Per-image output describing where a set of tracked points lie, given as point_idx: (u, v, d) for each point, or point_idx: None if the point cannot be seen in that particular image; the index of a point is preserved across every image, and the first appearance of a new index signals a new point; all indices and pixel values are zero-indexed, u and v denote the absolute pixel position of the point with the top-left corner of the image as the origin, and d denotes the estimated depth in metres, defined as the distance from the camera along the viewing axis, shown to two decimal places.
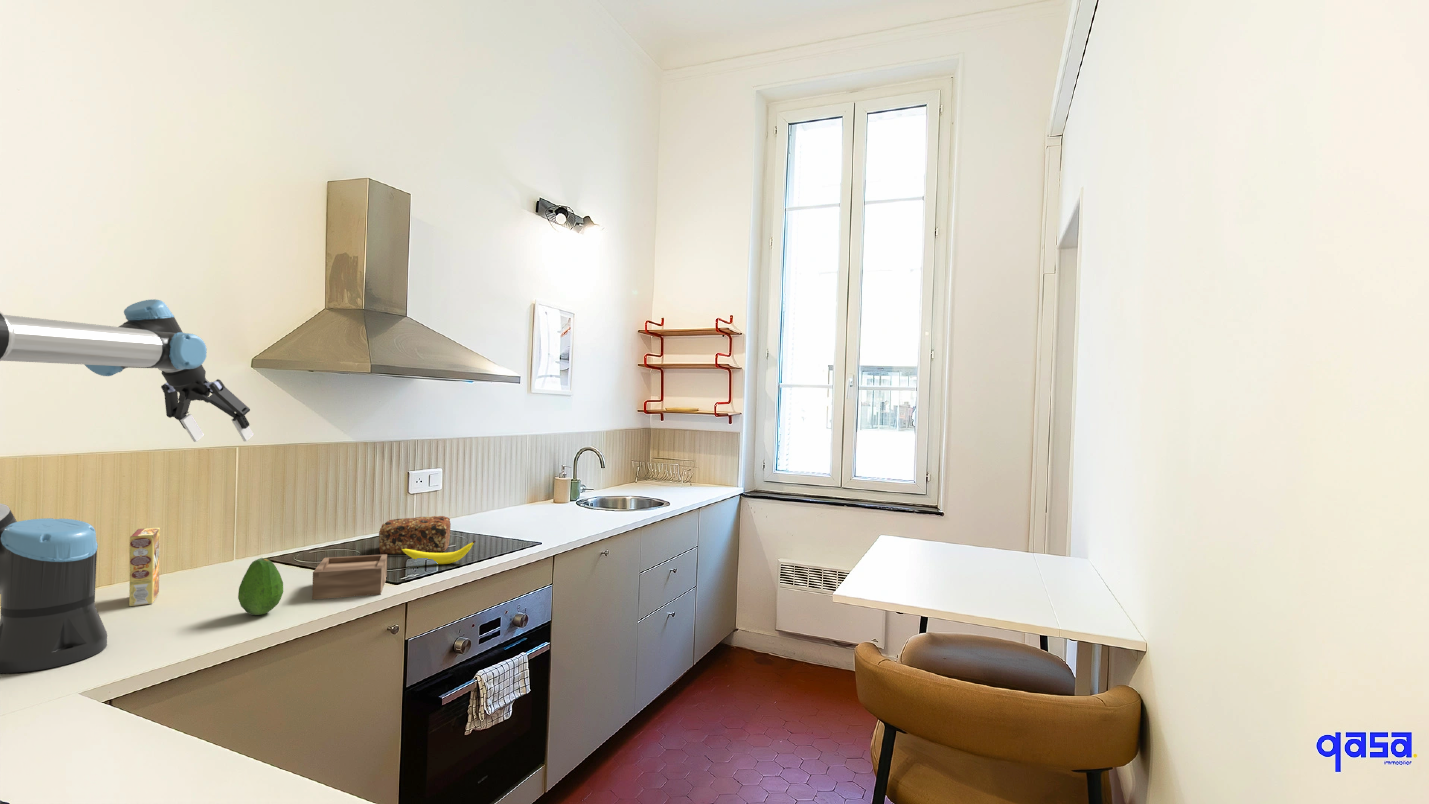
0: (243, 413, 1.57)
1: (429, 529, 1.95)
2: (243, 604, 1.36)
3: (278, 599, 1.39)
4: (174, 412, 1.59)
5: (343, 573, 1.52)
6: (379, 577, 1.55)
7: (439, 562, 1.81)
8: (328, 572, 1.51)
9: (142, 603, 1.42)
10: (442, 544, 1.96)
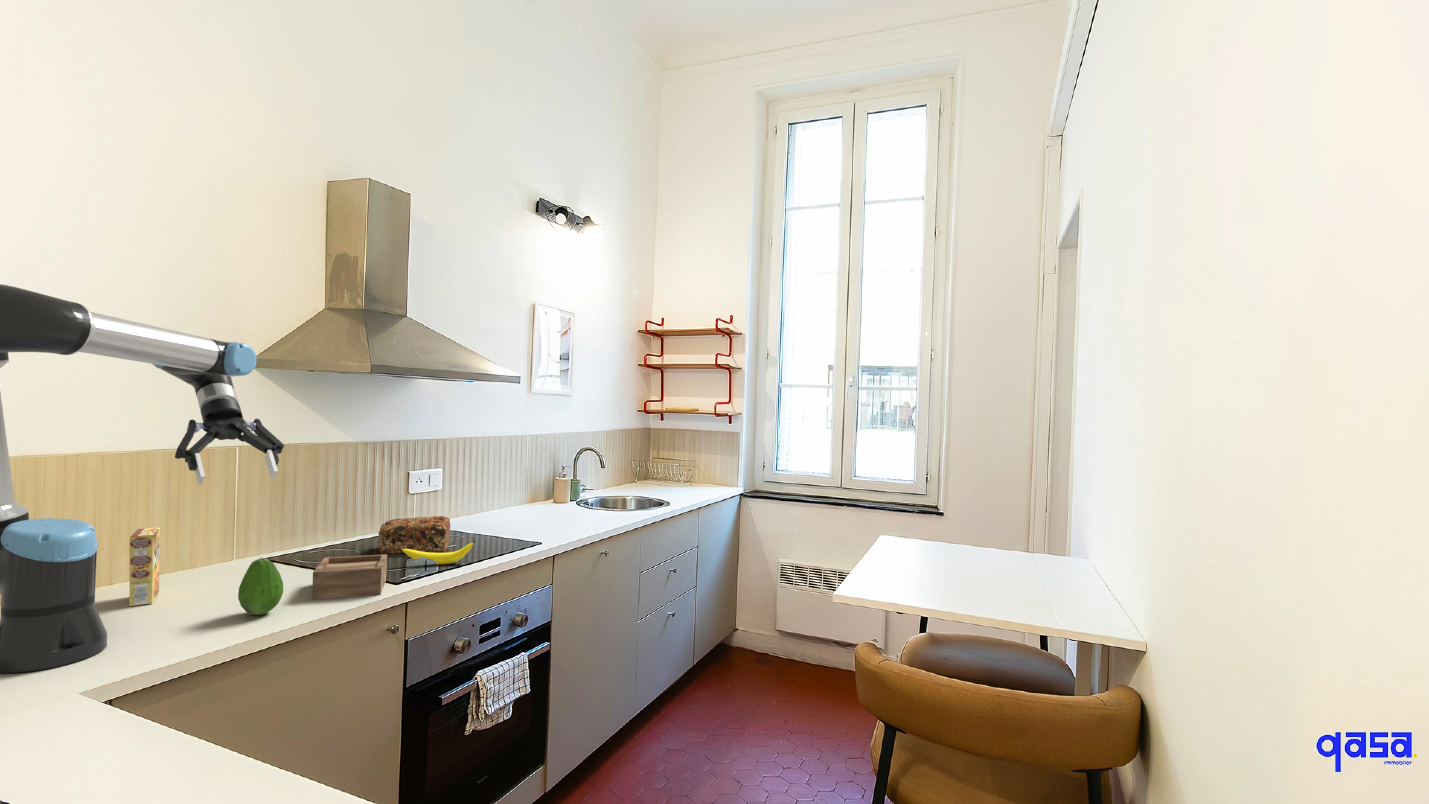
0: None
1: (429, 529, 1.95)
2: (243, 604, 1.36)
3: (278, 599, 1.39)
4: None
5: (343, 573, 1.52)
6: (379, 577, 1.55)
7: (439, 562, 1.81)
8: (328, 572, 1.51)
9: (142, 603, 1.42)
10: (441, 544, 1.96)
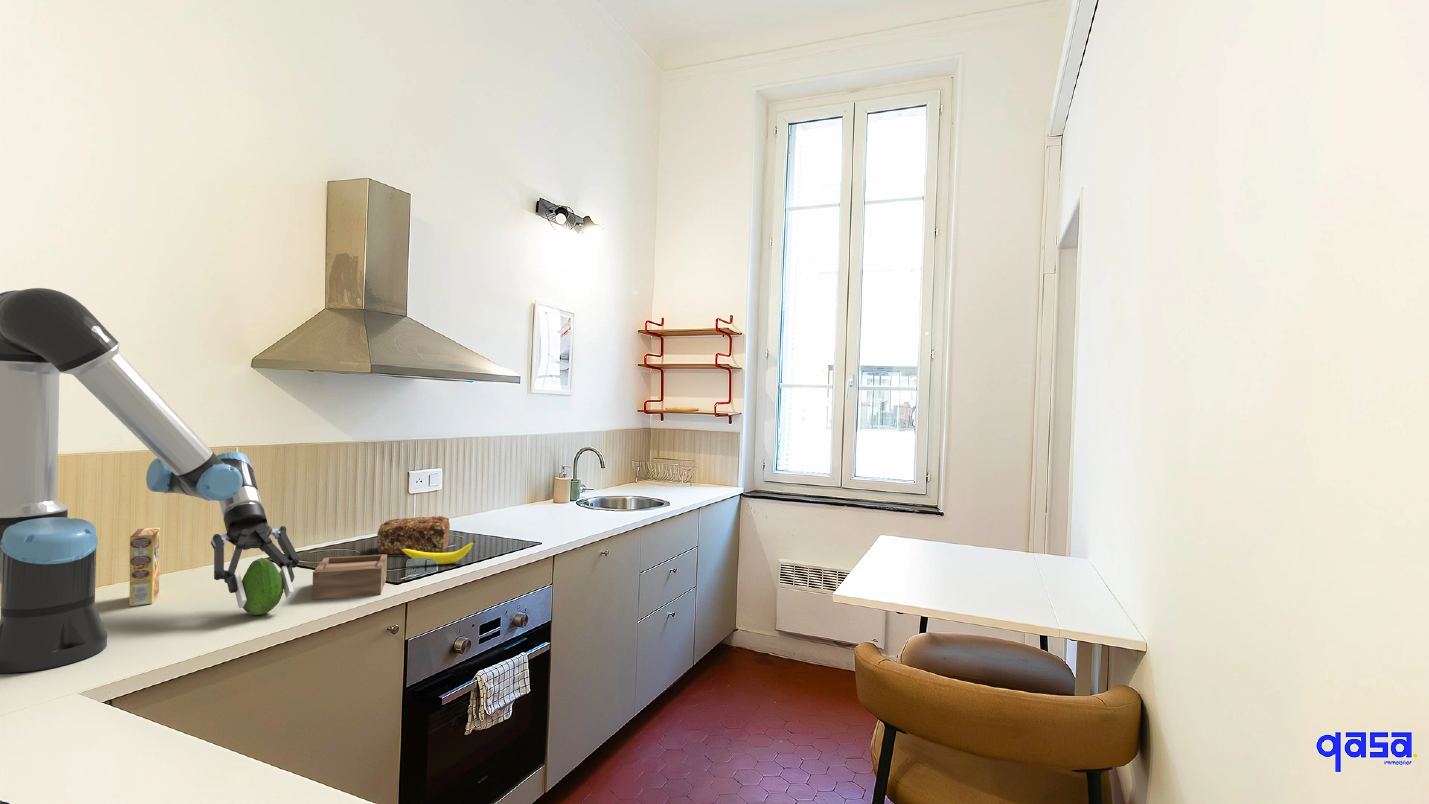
0: None
1: (428, 530, 1.94)
2: None
3: (278, 599, 1.39)
4: None
5: (343, 573, 1.52)
6: (379, 577, 1.55)
7: (439, 562, 1.81)
8: (328, 572, 1.51)
9: (142, 603, 1.42)
10: (440, 544, 1.95)
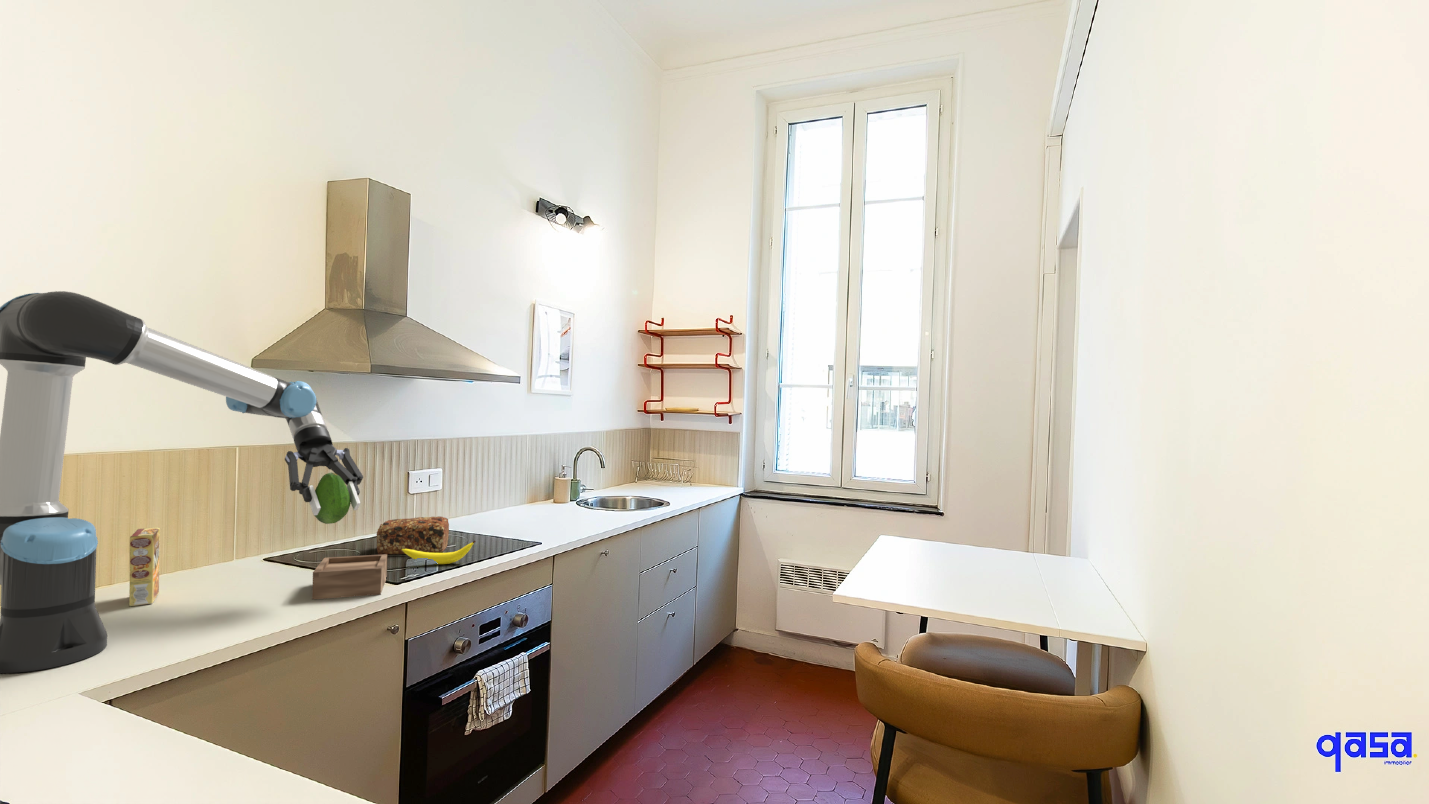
0: None
1: (427, 530, 1.94)
2: None
3: (346, 510, 1.53)
4: None
5: (343, 573, 1.52)
6: (379, 577, 1.55)
7: (439, 562, 1.81)
8: (328, 572, 1.51)
9: (142, 603, 1.42)
10: (439, 544, 1.95)
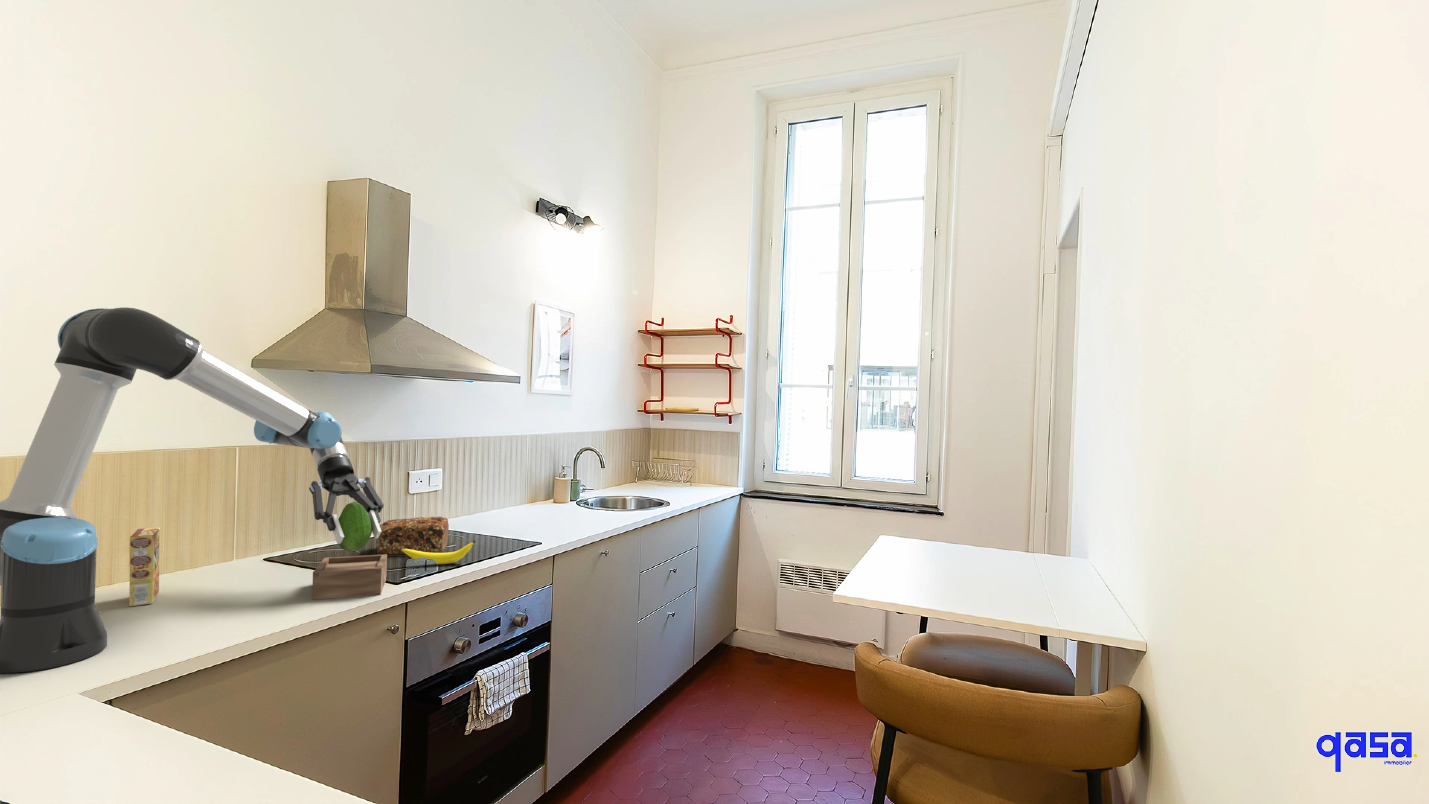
0: None
1: (427, 530, 1.94)
2: None
3: (368, 538, 1.59)
4: None
5: (343, 573, 1.52)
6: (379, 577, 1.55)
7: (439, 562, 1.81)
8: (328, 572, 1.51)
9: (142, 603, 1.42)
10: (439, 544, 1.95)
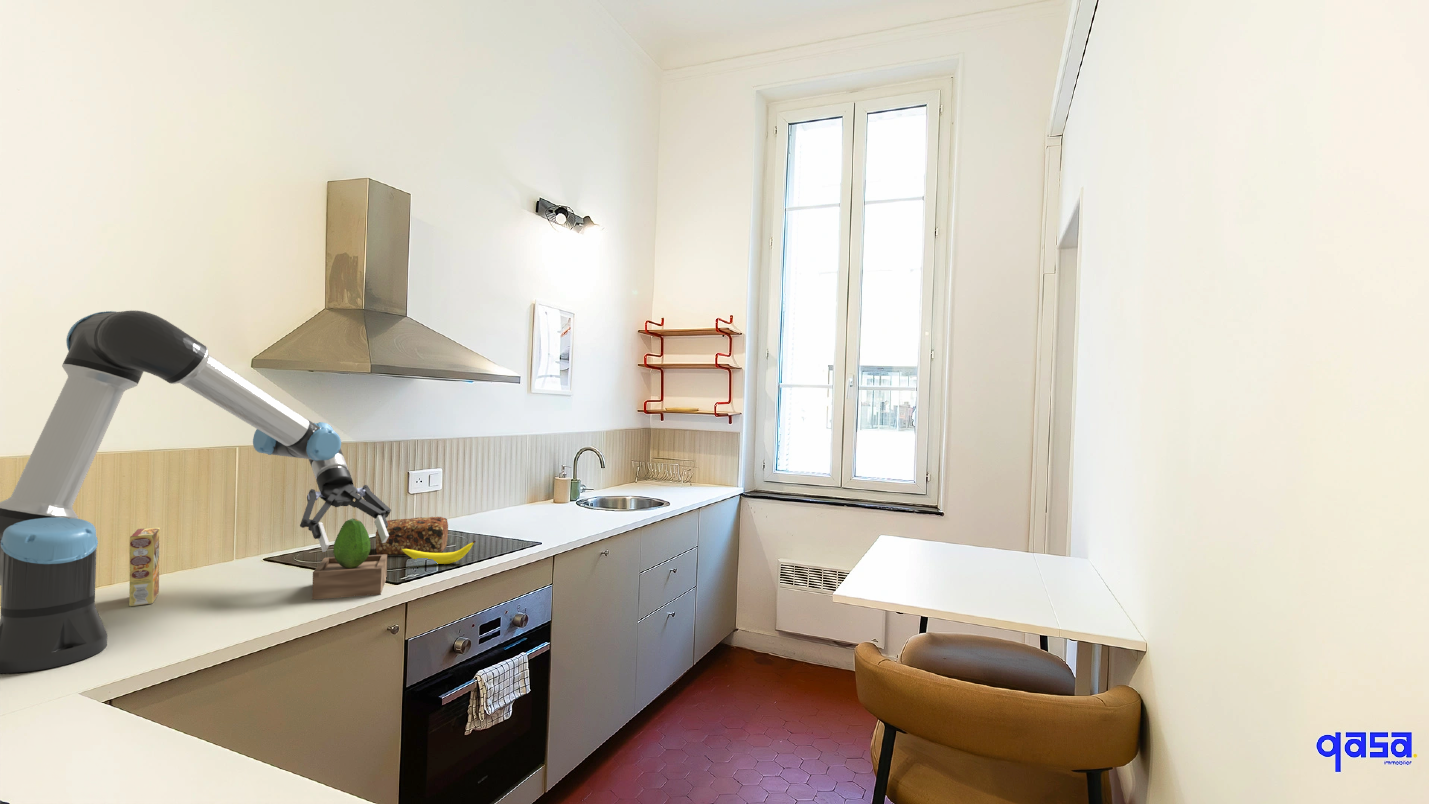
0: None
1: (426, 530, 1.93)
2: (338, 558, 1.55)
3: (367, 554, 1.59)
4: None
5: (343, 573, 1.52)
6: (379, 577, 1.55)
7: (439, 562, 1.81)
8: (328, 572, 1.51)
9: (142, 603, 1.42)
10: (438, 545, 1.94)
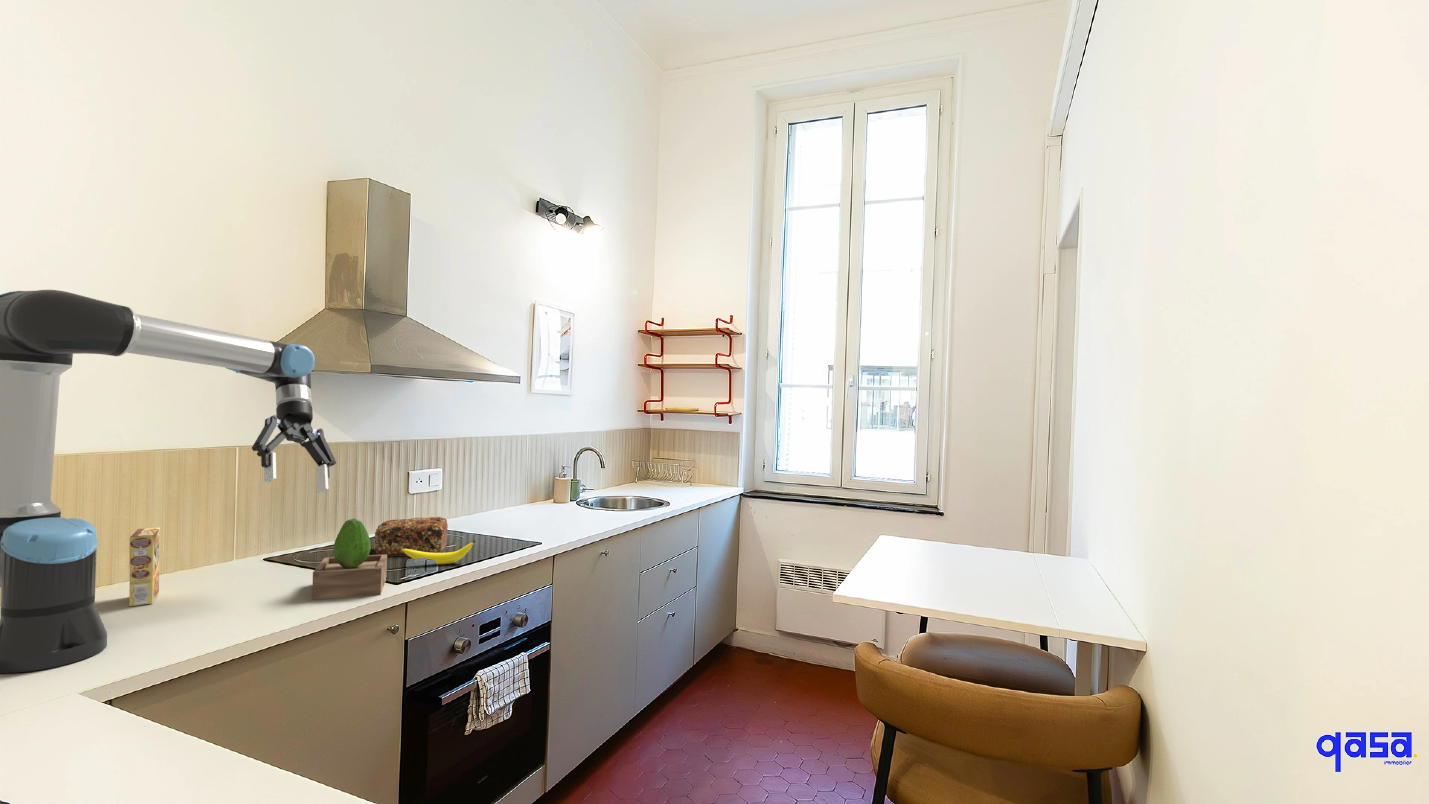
0: None
1: (425, 530, 1.93)
2: (338, 558, 1.55)
3: (367, 554, 1.59)
4: None
5: (343, 573, 1.52)
6: (379, 577, 1.55)
7: (439, 562, 1.81)
8: (328, 572, 1.51)
9: (142, 603, 1.42)
10: (438, 545, 1.94)
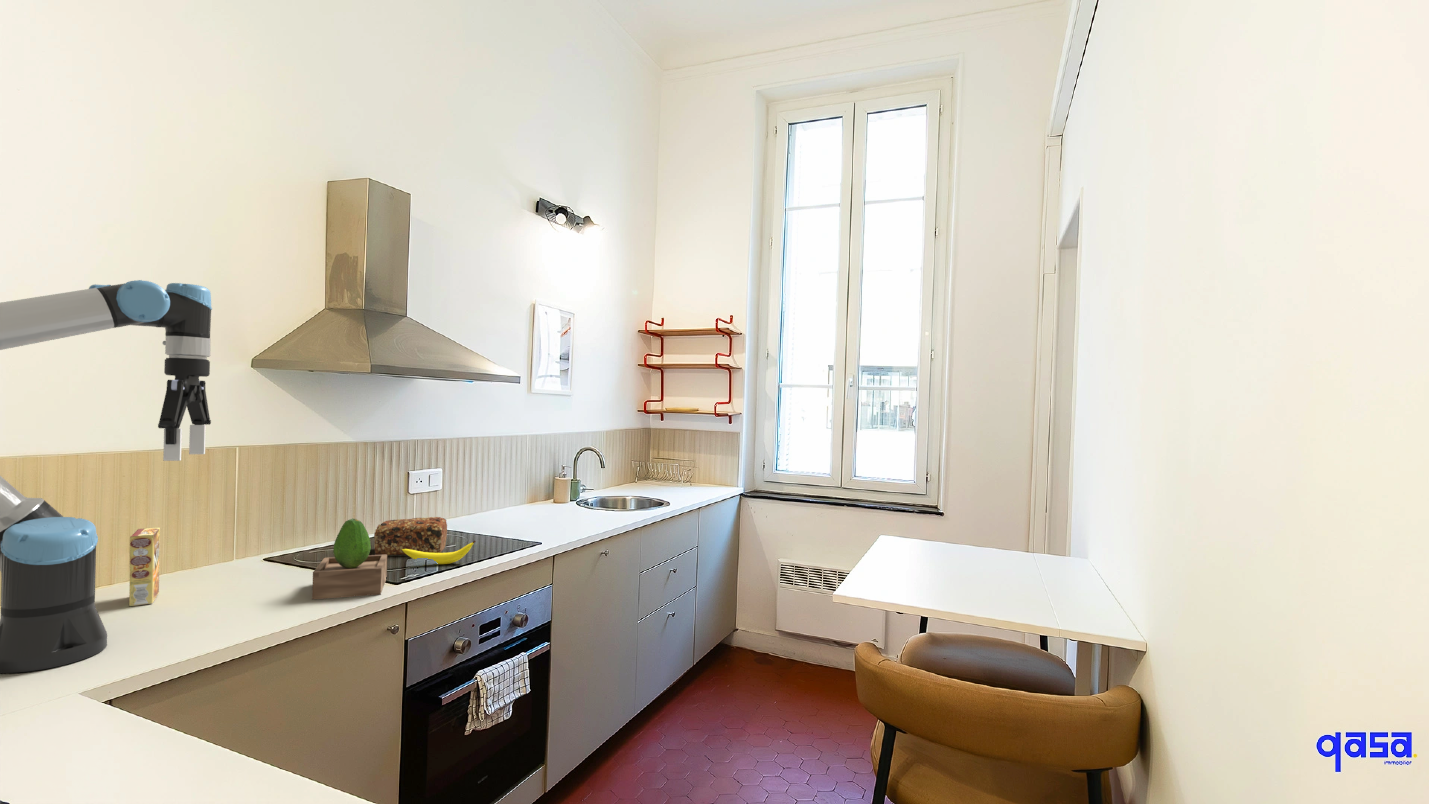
0: None
1: (425, 531, 1.93)
2: (338, 558, 1.55)
3: (367, 554, 1.59)
4: None
5: (343, 573, 1.52)
6: (379, 577, 1.55)
7: (439, 562, 1.81)
8: (328, 572, 1.51)
9: (142, 603, 1.42)
10: (437, 545, 1.94)
